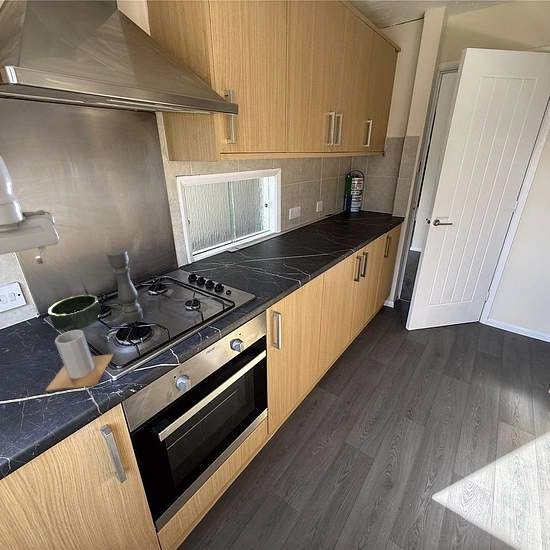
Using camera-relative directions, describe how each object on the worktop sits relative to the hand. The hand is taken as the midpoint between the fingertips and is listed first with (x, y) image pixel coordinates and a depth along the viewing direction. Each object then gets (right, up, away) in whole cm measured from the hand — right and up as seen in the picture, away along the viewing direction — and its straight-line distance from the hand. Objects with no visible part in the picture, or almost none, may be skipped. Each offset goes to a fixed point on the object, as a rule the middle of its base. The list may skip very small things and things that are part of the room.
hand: (19, 267), depth 77 cm
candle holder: (+17, -18, +27) cm, 36 cm away
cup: (+15, -28, +2) cm, 32 cm away
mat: (+15, -28, +2) cm, 32 cm away
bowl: (-3, -18, +28) cm, 33 cm away
